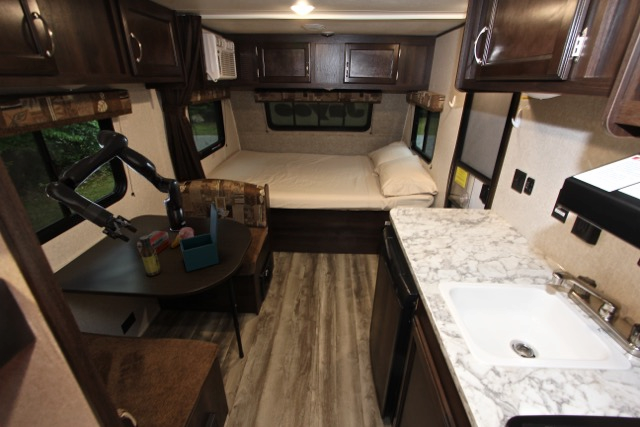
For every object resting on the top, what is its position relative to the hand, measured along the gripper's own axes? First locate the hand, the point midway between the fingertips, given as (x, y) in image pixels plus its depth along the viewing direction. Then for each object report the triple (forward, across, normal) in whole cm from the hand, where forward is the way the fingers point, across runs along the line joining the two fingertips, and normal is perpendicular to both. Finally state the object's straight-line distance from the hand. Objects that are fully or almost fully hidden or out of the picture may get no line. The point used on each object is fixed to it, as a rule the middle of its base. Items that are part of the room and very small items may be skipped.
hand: (132, 235), depth 135 cm
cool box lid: (+25, +10, -24) cm, 35 cm away
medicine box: (+14, +22, +16) cm, 31 cm away
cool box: (+33, +7, -3) cm, 34 cm away
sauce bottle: (+18, 0, +12) cm, 22 cm away
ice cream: (+25, +26, +6) cm, 36 cm away
